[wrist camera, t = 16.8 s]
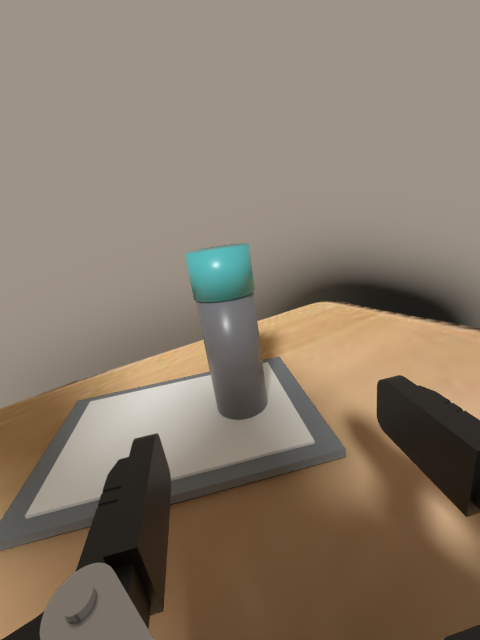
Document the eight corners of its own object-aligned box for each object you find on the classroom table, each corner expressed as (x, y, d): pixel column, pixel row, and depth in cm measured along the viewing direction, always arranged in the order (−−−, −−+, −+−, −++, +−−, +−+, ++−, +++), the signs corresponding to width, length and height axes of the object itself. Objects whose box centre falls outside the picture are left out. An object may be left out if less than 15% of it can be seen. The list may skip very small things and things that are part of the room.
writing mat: (-11, 553, 15) (-18, 542, 14) (79, 405, 27) (77, 399, 27) (345, 456, 17) (345, 446, 17) (279, 361, 29) (279, 354, 29)
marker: (219, 426, 20) (184, 256, 16) (213, 394, 24) (184, 251, 20) (275, 412, 20) (255, 245, 17) (261, 383, 24) (241, 242, 20)
